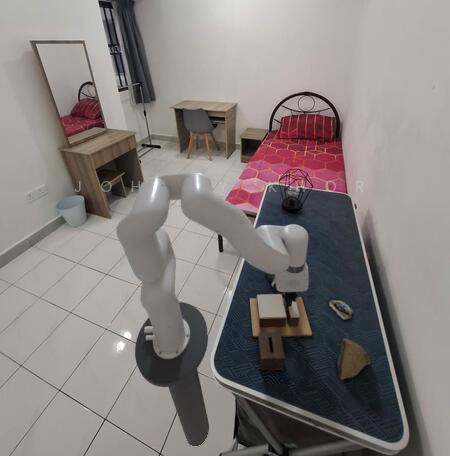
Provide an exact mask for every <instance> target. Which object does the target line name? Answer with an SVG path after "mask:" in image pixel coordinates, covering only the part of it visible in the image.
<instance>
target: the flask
mask: <svg viewBox="0 0 450 456" xmlns="http://www.w3.org/2000/svg"><path fill="white" fill-rule="evenodd" d="M265 277H266V279H267V280H268V281H269V282H270V283H271V284H272V282H273V281H274V279H275V274H269V273H266V272H265Z"/></svg>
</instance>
